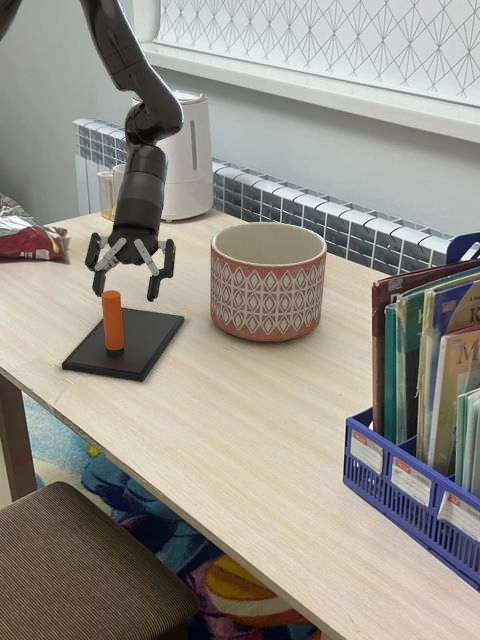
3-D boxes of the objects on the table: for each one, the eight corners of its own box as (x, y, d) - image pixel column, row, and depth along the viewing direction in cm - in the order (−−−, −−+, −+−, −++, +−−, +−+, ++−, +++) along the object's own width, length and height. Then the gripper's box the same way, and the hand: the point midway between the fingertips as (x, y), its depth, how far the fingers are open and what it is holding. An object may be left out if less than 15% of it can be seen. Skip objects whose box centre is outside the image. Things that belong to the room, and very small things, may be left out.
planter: (194, 306, 125) (193, 229, 118) (289, 290, 132) (293, 216, 125) (236, 358, 110) (238, 273, 103) (339, 336, 118) (349, 256, 110)
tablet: (62, 369, 106) (61, 363, 105) (114, 311, 122) (113, 305, 122) (142, 382, 103) (142, 376, 103) (184, 321, 120) (184, 316, 120)
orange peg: (103, 354, 108) (98, 296, 103) (110, 345, 110) (105, 289, 105) (120, 357, 107) (115, 299, 102) (127, 348, 110) (123, 291, 104)
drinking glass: (126, 227, 157) (122, 162, 150) (153, 232, 156) (150, 166, 148) (111, 237, 152) (106, 169, 144) (138, 242, 150) (135, 174, 142)
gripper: (91, 192, 112) (73, 286, 108) (177, 199, 111) (163, 294, 107) (104, 213, 120) (88, 301, 116) (185, 219, 118) (171, 309, 114)
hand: (124, 298), depth 111 cm, fingers open, 8 cm apart
